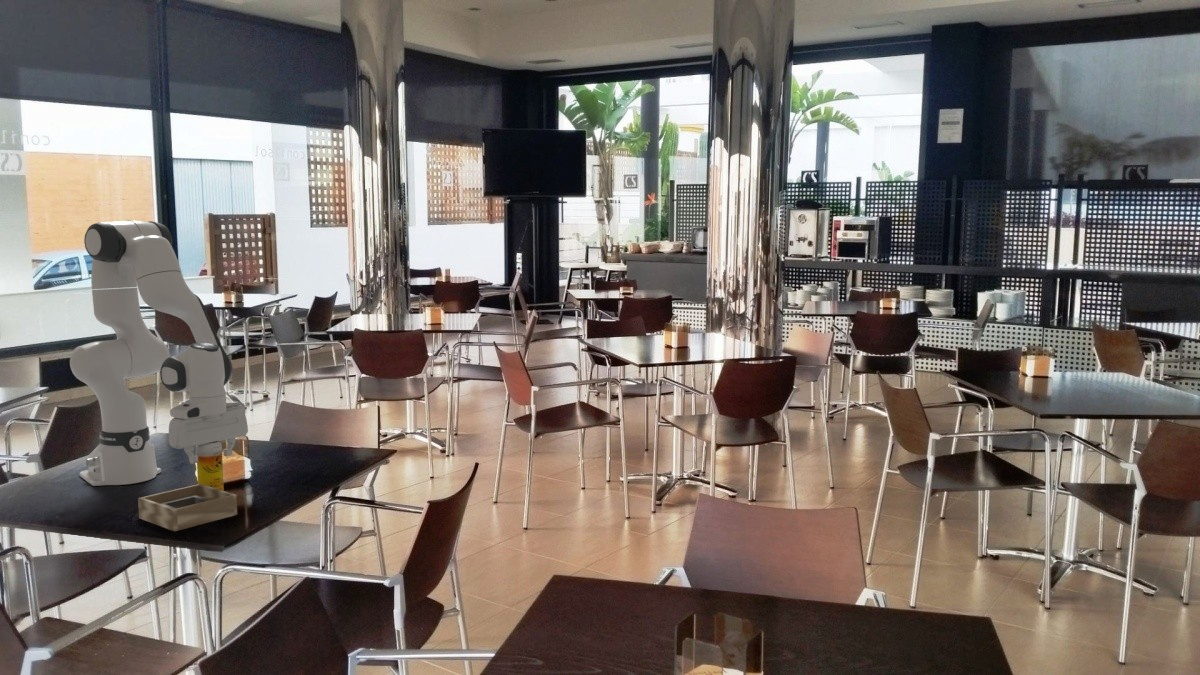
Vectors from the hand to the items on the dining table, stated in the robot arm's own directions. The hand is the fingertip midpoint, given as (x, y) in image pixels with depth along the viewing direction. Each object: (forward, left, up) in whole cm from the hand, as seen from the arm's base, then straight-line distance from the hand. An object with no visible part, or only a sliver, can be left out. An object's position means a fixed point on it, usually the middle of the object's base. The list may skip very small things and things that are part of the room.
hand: (211, 459), depth 243 cm
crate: (+9, -12, -10) cm, 18 cm away
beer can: (-1, 0, -11) cm, 11 cm away
